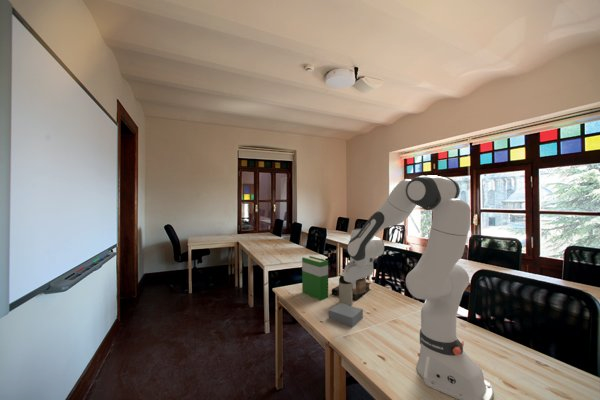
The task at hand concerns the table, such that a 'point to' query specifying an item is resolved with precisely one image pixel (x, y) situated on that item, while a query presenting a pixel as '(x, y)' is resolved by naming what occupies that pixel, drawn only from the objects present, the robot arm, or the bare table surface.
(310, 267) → the green cereal box
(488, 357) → the table surface
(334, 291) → the diary
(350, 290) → the travel mug
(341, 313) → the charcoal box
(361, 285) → the walnut block
